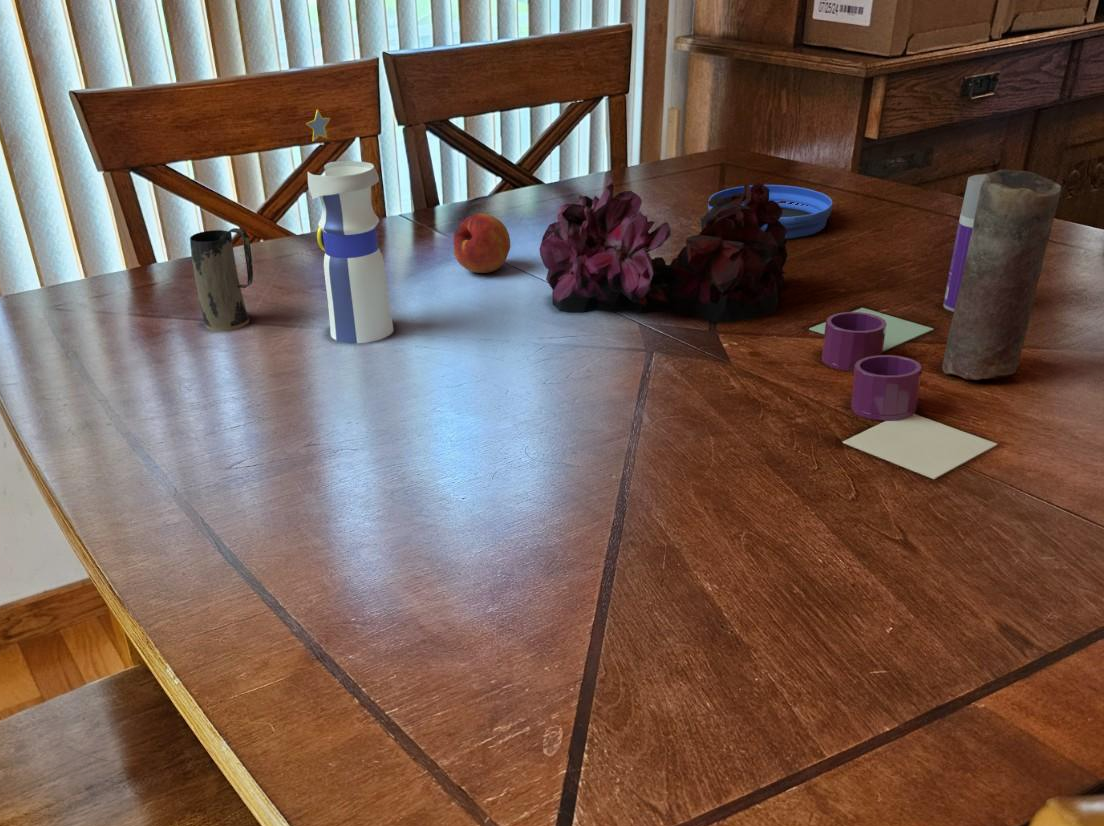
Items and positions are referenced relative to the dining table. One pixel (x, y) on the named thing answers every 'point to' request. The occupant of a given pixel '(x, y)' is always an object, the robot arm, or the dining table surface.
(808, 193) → the bowl
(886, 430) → the pad near
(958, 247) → the container
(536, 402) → the dining table surface
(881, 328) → the dish
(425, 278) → the dining table surface
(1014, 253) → the grey stone cylinder
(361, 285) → the water bottle
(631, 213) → the flower arrangement
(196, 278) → the mug
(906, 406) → the dish
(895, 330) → the pad far
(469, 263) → the fruit
